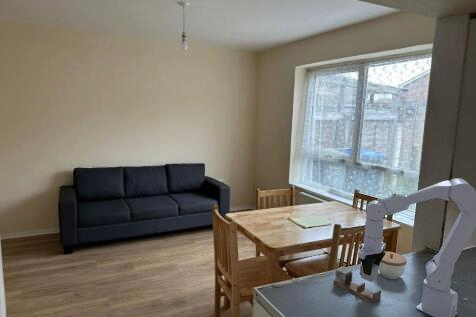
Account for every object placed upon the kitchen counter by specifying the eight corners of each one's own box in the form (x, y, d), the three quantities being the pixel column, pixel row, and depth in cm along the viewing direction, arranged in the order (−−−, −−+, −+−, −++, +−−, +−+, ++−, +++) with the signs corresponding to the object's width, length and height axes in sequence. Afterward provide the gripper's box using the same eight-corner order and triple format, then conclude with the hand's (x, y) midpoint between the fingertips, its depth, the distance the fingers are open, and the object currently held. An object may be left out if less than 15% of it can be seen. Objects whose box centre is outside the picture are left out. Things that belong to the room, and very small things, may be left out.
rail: (380, 298, 111) (381, 283, 110) (373, 303, 108) (375, 287, 107) (340, 279, 123) (341, 265, 123) (333, 283, 121) (334, 269, 120)
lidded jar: (397, 285, 120) (399, 262, 118) (370, 274, 128) (371, 252, 127) (409, 276, 127) (411, 254, 125) (383, 266, 135) (384, 245, 133)
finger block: (377, 278, 113) (378, 265, 112) (371, 282, 110) (372, 268, 110) (365, 273, 116) (366, 260, 116) (359, 277, 114) (360, 263, 113)
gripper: (373, 227, 118) (370, 262, 120) (351, 236, 109) (348, 273, 111) (392, 233, 112) (389, 269, 114) (370, 243, 104) (367, 282, 106)
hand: (370, 272), depth 112 cm, fingers closed on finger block, 4 cm apart
